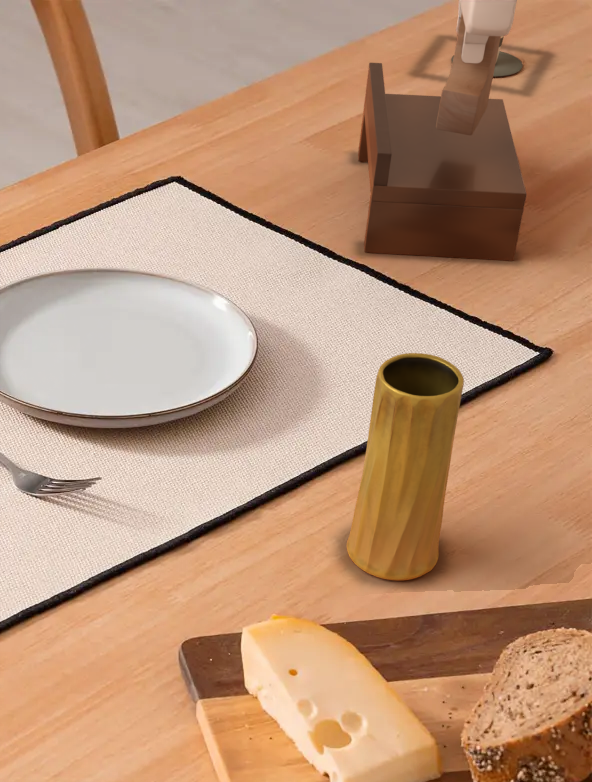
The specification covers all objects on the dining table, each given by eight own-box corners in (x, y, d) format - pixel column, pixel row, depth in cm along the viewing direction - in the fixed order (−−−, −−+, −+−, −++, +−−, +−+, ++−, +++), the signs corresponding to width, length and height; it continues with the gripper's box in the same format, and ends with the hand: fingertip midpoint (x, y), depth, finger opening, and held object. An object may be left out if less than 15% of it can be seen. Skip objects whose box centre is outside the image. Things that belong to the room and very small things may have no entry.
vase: (330, 560, 104) (354, 382, 95) (370, 514, 108) (396, 338, 99) (414, 594, 101) (447, 413, 93) (452, 544, 105) (486, 367, 97)
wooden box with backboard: (491, 162, 152) (508, 68, 146) (513, 261, 137) (533, 161, 131) (357, 155, 153) (369, 62, 147) (364, 252, 138) (377, 153, 132)
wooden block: (450, 102, 141) (481, -66, 131) (487, 108, 140) (519, -60, 130) (434, 129, 136) (464, -43, 127) (472, 136, 135) (505, -37, 126)
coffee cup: (549, 54, 174) (558, 10, 171) (526, 93, 165) (535, 48, 162) (443, 36, 178) (450, -7, 175) (416, 74, 169) (422, 29, 166)
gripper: (551, -74, 119) (517, 98, 127) (522, -148, 135) (494, 10, 143) (467, -78, 119) (439, 94, 128) (448, -151, 135) (424, 6, 144)
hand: (468, 49), depth 136 cm, fingers closed on wooden block, 4 cm apart
